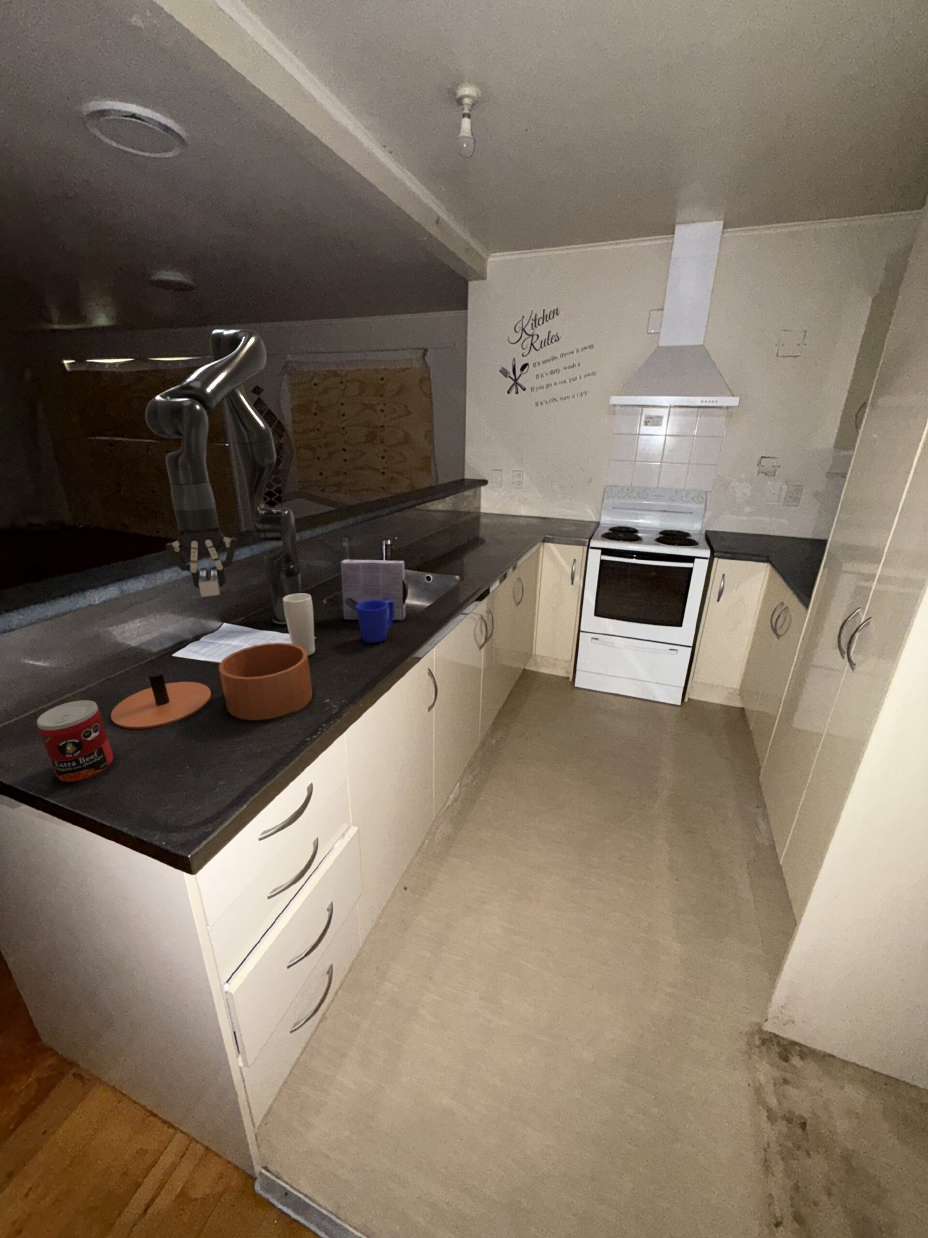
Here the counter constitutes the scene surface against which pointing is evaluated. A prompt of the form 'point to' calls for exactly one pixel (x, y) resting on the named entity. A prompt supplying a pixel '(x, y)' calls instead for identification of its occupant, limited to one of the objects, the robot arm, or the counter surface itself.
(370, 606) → the mug
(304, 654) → the pot
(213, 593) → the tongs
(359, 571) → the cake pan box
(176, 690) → the pot lid
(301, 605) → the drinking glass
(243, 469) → the robot arm
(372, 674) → the counter surface
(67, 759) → the canned food
